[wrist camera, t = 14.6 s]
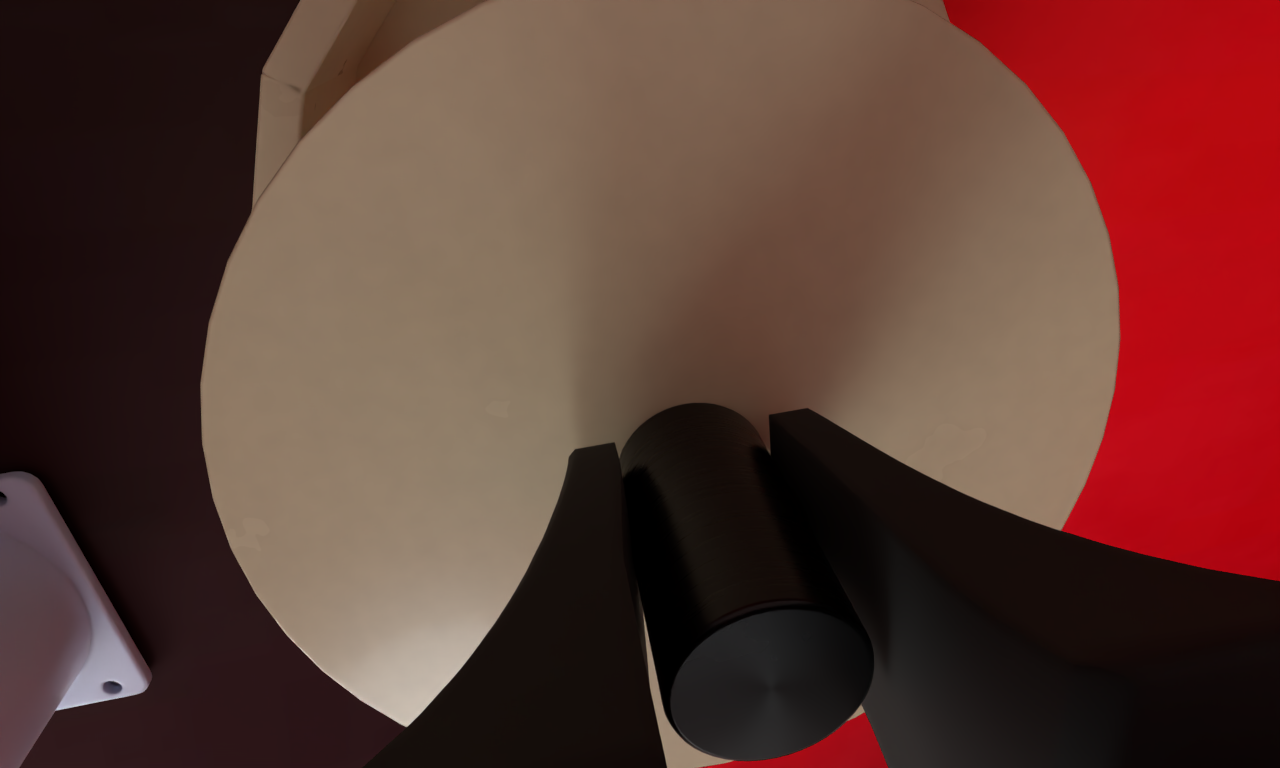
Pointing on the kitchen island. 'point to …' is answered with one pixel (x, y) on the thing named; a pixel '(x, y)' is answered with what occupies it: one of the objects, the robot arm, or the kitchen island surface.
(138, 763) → the kitchen island surface
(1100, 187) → the kitchen island surface
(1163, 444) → the kitchen island surface
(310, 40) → the pot
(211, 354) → the pot lid
